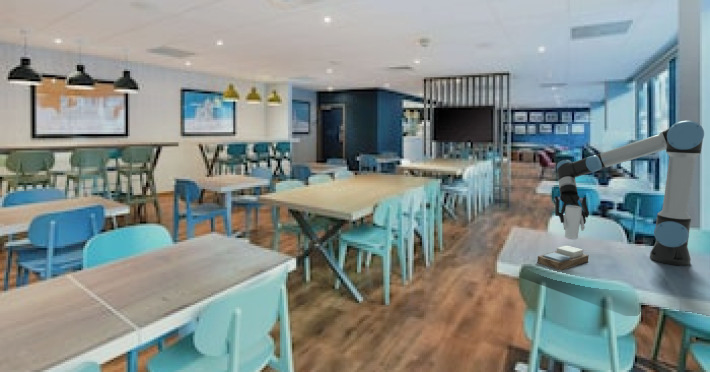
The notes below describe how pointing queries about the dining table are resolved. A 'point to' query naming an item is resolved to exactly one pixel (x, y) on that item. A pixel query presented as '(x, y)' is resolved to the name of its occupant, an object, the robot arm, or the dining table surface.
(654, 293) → the dining table surface
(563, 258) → the slate key
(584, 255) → the keyguard frame
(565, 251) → the cream key
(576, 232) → the drinking glass
